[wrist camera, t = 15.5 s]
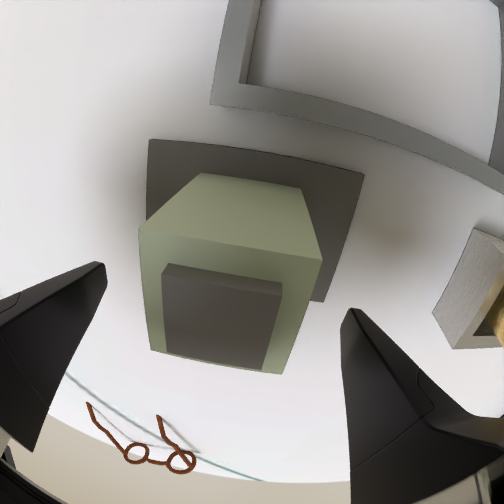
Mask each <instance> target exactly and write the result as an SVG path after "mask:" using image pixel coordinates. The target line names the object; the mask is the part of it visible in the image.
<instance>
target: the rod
mask: <svg viewBox="0 0 504 504" xmlns="http://www.w3.org/2000/svg"><path fill="white" fill-rule="evenodd" d="M485 319H486V321H487V322H488V324H489V325H490V327H491V328H492V330H493V332H494V333H495V335H496V336H497V338H498V340H499V341H500V343H501V344H502V346H503V348H504V285H503V287H502V289H501V290H500V292H499V294H498V296H497V298H496V299H495V301H494V303H493V305H492V306H491V308H490V310H489V311H488V313H487V314H486V316H485Z"/></svg>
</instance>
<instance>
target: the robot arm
mask: <svg viewBox="0 0 504 504" xmlns="http://www.w3.org/2000/svg"><path fill="white" fill-rule="evenodd" d="M107 284H108V281H107V275H106V268H105V265H104V264H103V263H101V262H97V261H94V262H91V263H88V264H86V265H83V266H81V267H78V268H76V269H73V270H71V271H68V272H66V273H63V274H61V275H58V276H56V277H53V278H51V279H49V280H46V281H44V282H41V283H39V284H37V285H34V286H32V287H30V288H27V289H25V290H23V291H22V292H21V291H20V292H18V293H16V294H14V295H11V296H9V297H6V298H4V299H2V300H0V504H68V503H66V502H64V501H62V500H61V499H59V498H57V497H56V496H54V495H52V494H50V493H49V492H47V491H46V490H44V489H43V488H41V487H40V486H38V485H37V484H35V483H34V482H32V481H31V480H29V479H28V478H27V477H25V476H24V475H23V474H21V473H20V472H18V471H17V470H16V467H15V464H14V461H13V457H12V454H11V450H10V447H9V446H8V445H7V444H8V442H9V439H10V438H12V439H14V440H15V441H16V442H18V443H19V444H20V445H22V446H23V447H24V448H26V449H27V450H29V451H30V452H33V450H34V448H35V445H36V442H37V439H38V437H39V434H40V431H41V428H42V425H43V423H44V420H45V417H46V415H47V413H48V410H49V407H50V405H51V403H52V400H53V398H54V396H55V393H56V391H57V389H58V387H59V384H60V382H61V380H62V378H63V376H64V373H65V371H66V369H67V367H68V365H69V363H70V361H71V359H72V357H73V355H74V353H75V351H76V349H77V347H78V345H79V343H80V341H81V339H82V338H83V336H84V334H85V332H86V330H87V328H88V326H89V325H90V323H91V321H92V319H93V317H94V315H95V312H96V310H97V308H98V306H99V303H100V301H101V299H102V297H103V294H104V292H105V290H106V288H107ZM340 340H341V370H342V378H343V387H344V395H345V405H346V415H347V427H348V440H349V456H350V470H351V471H350V482H351V504H504V419H503V418H490V417H480V416H475V415H473V414H470V413H469V412H467V411H466V410H465V409H463V408H462V407H461V406H460V405H459V404H458V403H457V402H456V401H454V400H453V399H452V398H451V397H450V396H449V395H448V394H447V393H445V392H444V391H443V390H442V389H441V388H440V387H439V386H438V385H437V384H436V383H434V382H433V381H432V380H431V379H430V378H429V377H428V376H427V375H426V374H425V373H424V371H423V370H422V369H421V368H419V366H418V365H417V364H416V363H415V362H414V361H413V360H412V359H411V358H410V357H409V356H408V355H407V354H406V353H405V352H404V351H403V350H402V349H401V348H400V347H399V346H398V345H397V344H396V343H395V342H394V341H393V340H392V339H391V338H390V337H389V336H388V335H387V334H386V333H385V332H384V331H383V330H382V329H381V328H380V327H379V326H377V325H376V324H375V323H374V322H373V321H372V320H371V319H370V318H369V317H368V316H367V315H366V314H365V313H364V312H363V311H362V310H361V309H357V308H350V309H349V310H348V311H347V313H346V316H345V318H344V320H343V322H342V324H341V328H340Z"/></svg>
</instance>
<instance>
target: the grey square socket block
mask: <svg viewBox="0 0 504 504" xmlns="http://www.w3.org/2000/svg"><path fill="white" fill-rule="evenodd" d="M503 285H504V240H502V239H500V238H497V237H495V236H492V235H490V234H487V233H485V232H482V231H480V230H477V229H475V228H473V230H472V233H471V236H470V238H469V240H468V243H467V245H466V247H465V250H464V252H463V254H462V257H461V259H460V261H459V263H458V265H457V267H456V269H455V271H454V273H453V275H452V277H451V279H450V281H449V283H448V285H447V287H446V289H445V291H444V293H443V295H442V296H441V298H440V300H439V302H438V304H437V305H436V307H435V309H434V311H433V312H432V314H433V316H434V317H435V319H436V321H437V322H438V324H439V326H440V328H441V330H442V331H443V333H444V335H445V337H446V339H447V341H448V342H449V344H450V346H451V348H452V349H476V348H494V347H503V346H502V344H501V343H500V341H499V340H498V338H497V336H496V335H495V333H494V332H493V330H492V328H491V327H490V325H489V324H488V322H487V321H486V319H485V316H486V314H487V313H488V311H489V310H490V308H491V306H492V305H493V303H494V301H495V299H496V298H497V296H498V294H499V292H500V290H501V289H502V287H503Z"/></svg>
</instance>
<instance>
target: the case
mask: <svg viewBox="0 0 504 504" xmlns="http://www.w3.org/2000/svg"><path fill="white" fill-rule="evenodd" d="M261 1H262V0H229V2H228V7H227V11H226V16H225V20H224V25H223V30H222V35H221V40H220V45H219V51H218V56H217V62H216V68H215V73H214V79H213V86H212V92H211V99H210V104H211V105H218V106H225V107H234V108H242V109H250V110H256V111H263V112H269V113H275V114H281V115H286V116H291V117H296V118H301V119H306V120H310V121H315V122H319V123H323V124H327V125H331V126H335V127H339V128H343V129H346V130H350V131H353V132H357V133H360V134H363V135H367V136H370V137H373V138H376V139H379V140H382V141H385V142H388V143H391V144H394V145H397V146H400V147H402V148H405V149H408V150H410V151H413V152H416V153H418V154H421V155H423V156H426V157H428V158H430V159H433V160H435V161H437V162H440V163H442V164H444V165H446V166H449V167H451V168H453V169H455V170H457V171H459V172H461V173H463V174H466V175H468V176H470V177H472V178H473V179H475V180H477V181H479V182H481V183H483V184H485V185H487V186H489V187H490V188H492V189H494V190H496V191H498V192H499V193H501V194H503V195H504V0H490V1H492V2H493V3H494V4H495V5H496V6H498V7H499V15H500V25H501V39H502V77H501V92H500V103H499V111H498V118H497V125H496V131H495V137H494V142H493V147H492V151H491V156H490V160H489V164H488V165H487V164H485V163H483V162H482V161H480V160H478V159H476V158H475V157H473V156H471V155H469V154H467V153H466V152H464V151H462V150H460V149H458V148H456V147H454V146H452V145H450V144H448V143H446V142H444V141H442V140H440V139H438V138H436V137H433V136H431V135H429V134H427V133H424V132H422V131H420V130H417V129H415V128H413V127H410V126H408V125H405V124H403V123H400V122H398V121H395V120H392V119H389V118H387V117H384V116H381V115H378V114H375V113H372V112H369V111H366V110H363V109H360V108H357V107H353V106H350V105H346V104H343V103H339V102H335V101H332V100H328V99H324V98H320V97H315V96H311V95H307V94H302V93H297V92H292V91H287V90H281V89H276V88H270V87H263V86H256V85H249V84H246V81H247V75H248V69H249V64H250V58H251V52H252V47H253V42H254V36H255V31H256V26H257V21H258V16H259V11H260V6H261Z"/></svg>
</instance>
